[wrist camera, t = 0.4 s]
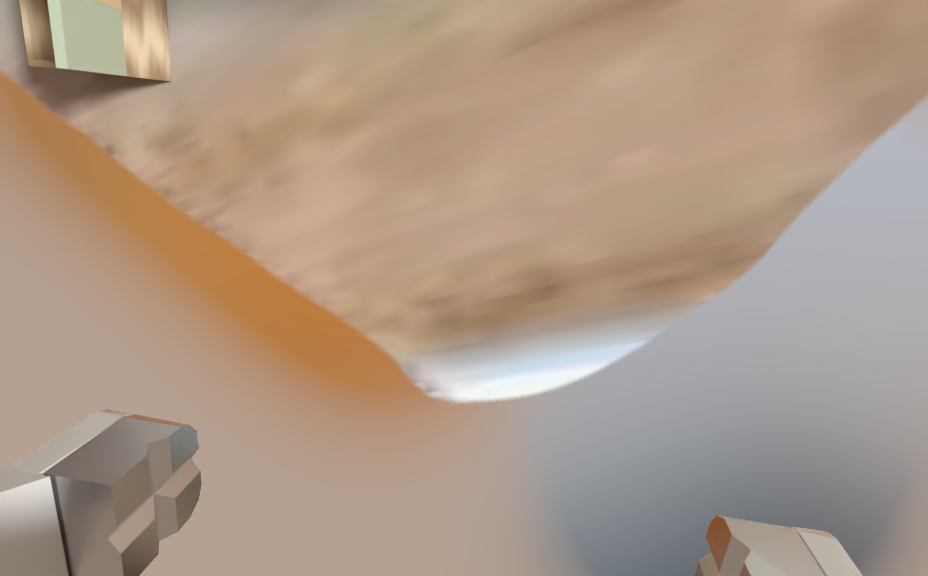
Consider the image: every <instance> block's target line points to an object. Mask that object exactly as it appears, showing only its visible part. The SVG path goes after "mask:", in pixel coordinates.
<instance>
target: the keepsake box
mask: <svg viewBox="0 0 928 576" xmlns="http://www.w3.org/2000/svg"><path fill="white" fill-rule="evenodd" d="M19 3H20V10H21V17H22V24H23V31H24V38H25V45H26V52H27V59H28V66H35V67H44V68H53V69H62V70H70V71H79V70H71V69H63V68H56V63H55V56H54V48H53V40H52V32H51V25H50V17H49V9H48V1H47V0H19ZM121 5H122V10H121V13H122V24H123V35H124V47H125V58H126V69H127V76H125V77H135V78H144V79H153V80H163V81H171V70H170V55H169V40H168V25H167V10H166V0H121ZM79 72H87V71H79ZM88 73H96V72H88ZM97 74H104V73H97ZM106 75H112V74H106ZM116 76H121V75H116Z"/></svg>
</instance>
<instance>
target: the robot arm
mask: <svg viewBox="0 0 928 576" xmlns="http://www.w3.org/2000/svg"><path fill="white" fill-rule="evenodd" d="M198 448H199V447H198V440H197V432H196V430H195V429H193V428H192V427H191V426H190V425H186V424H181V423H176V422H171V421H165V420H161V419H155V418H150V417H145V416H139V415H131V414H128V413H123V412H117V411H111V410H101V411H95V412H94V413H92V414H90V415H89V416H87V417H86V418H84V419H83V420H81V421H80V422H78V423H77V424H75V425H73V426H72V427H70V428H69V429H67V430H66V431H64V432H63V433H61V434H60V435H58V436H56V437H55V438H53V439H52V440H50V441H49V442H47V443H46V444H44V445H43V446H41V447H39V448H38V449H36V450H35V451H33V452H32V453H30V454H29V455H27V456H26V457H24V458H23V459H21V460H19V461H18V462H16V463H15V464H13V465H12V466H10V467H9V468H4V467H0V576H139V575H140V574H141V573H142V572H143V571H144V570H145V568H146V567H147V566H148V565H149V564H150V563H151V562H152V561H153V559H154V558H155V557H156V556H157V555H158V550H159V541H160V540H162V539H164V538H166V537H168V536H170V535H172V534H174V533H176V532H178V531H179V530H180V529H181V528H182V526H183V525H184V524H185V523H186V521H187V520H188V519H189V518H190V517H191V514H192V512H193V510H194V508H195V506H196V504H197V502H198V500H199V495H200V489H201V472H200V470H199V469H198V467H197V466H196V465H195V463H194V462H193V460H192V459H191V457H192V456H193V455H194V453H195V452H196V451H197V450H198ZM706 539H707V542H708V544H709V547H710V550H711V553H709V554H708V555H706V556H705V557H703V558H702V559H701V560H699V561H698V565H697V569H696V573H695V576H862V574H861V573H860V571H859V570H858V569H857V567H856V566H855V564H854V563H853V561H852V560H851V559H850V557H849V556H848V554H847V553H846V552H845V550H844V549H843V547H842V546H841V545H840V543H839V542H838V540H837V539H836V538H835V537H834V536H832V535H831V534H829V533H828V532H826V531H819V530H812V529H805V528H798V527H791V526H789V527H783V526H777V525H771V524H765V523H759V522H753V521H747V520H741V519H735V518H728V517H723V516H717V515H716V516H715V517H714V519H713V520H712V521H711V523H710V525H709V528H708V531H707V534H706Z"/></svg>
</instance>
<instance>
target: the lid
mask: <svg viewBox="0 0 928 576" xmlns="http://www.w3.org/2000/svg"><path fill="white" fill-rule="evenodd" d="M47 1H48V9H49V17H50V25H51V32H52V40H53V48H54V56H55V63H56V68H63V69H71V70H79V71H87V72H96V73H104V74H112V75H121V76H127V69H126V58H125V47H124V35H123V24H122V13H121V10H122V5H121V0H47Z"/></svg>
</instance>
